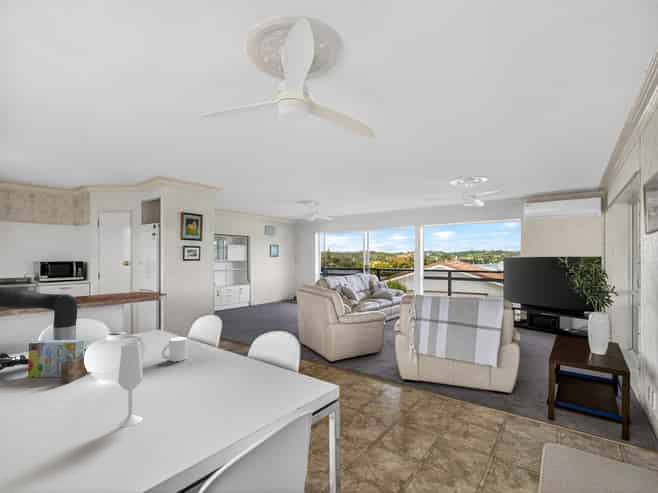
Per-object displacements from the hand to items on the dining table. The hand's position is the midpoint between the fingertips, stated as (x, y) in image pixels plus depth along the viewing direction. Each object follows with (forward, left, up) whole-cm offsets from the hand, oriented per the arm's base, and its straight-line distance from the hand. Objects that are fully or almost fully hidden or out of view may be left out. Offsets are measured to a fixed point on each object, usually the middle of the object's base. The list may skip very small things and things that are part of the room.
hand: (29, 361), depth 149 cm
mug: (-23, +53, -7) cm, 58 cm away
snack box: (-2, +11, -7) cm, 13 cm away
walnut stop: (+1, +23, -7) cm, 23 cm away
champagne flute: (+41, +70, -7) cm, 81 cm away
